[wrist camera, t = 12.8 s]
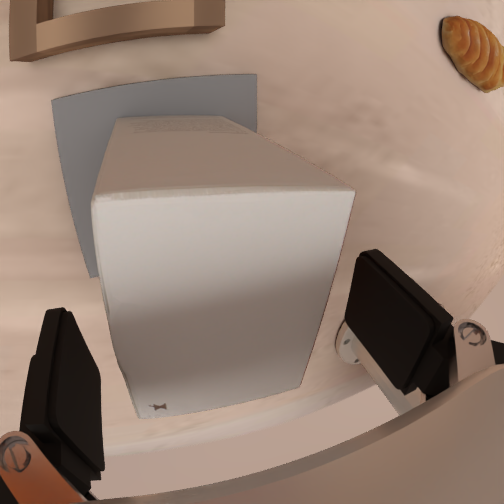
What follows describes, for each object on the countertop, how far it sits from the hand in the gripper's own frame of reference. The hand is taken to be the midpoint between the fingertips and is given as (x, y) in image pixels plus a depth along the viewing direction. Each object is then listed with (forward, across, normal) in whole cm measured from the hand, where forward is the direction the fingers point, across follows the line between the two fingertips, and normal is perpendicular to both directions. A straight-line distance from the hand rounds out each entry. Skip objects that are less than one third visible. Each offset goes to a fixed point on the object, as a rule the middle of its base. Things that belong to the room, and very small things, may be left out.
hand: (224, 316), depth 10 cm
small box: (+12, +1, -1) cm, 12 cm away
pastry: (+13, -27, -12) cm, 32 cm away
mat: (+12, +1, -1) cm, 12 cm away
